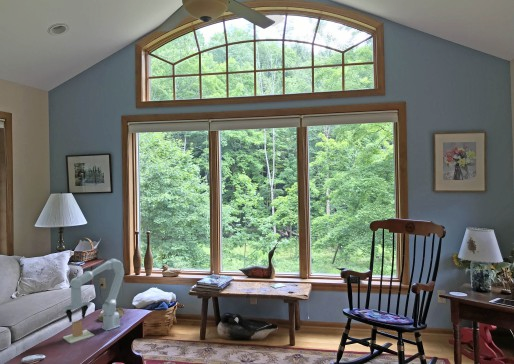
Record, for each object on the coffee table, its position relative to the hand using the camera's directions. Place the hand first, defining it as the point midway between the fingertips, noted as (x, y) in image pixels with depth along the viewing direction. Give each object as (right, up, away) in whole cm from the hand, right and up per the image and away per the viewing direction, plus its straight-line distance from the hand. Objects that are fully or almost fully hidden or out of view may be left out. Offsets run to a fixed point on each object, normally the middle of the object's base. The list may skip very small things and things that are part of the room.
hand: (76, 319), depth 228 cm
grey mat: (+2, -10, -1) cm, 10 cm away
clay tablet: (+10, -10, +32) cm, 35 cm away
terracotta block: (0, -9, 0) cm, 9 cm away
